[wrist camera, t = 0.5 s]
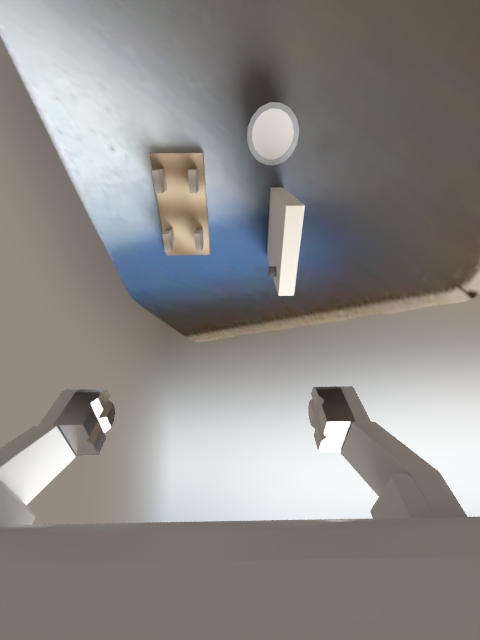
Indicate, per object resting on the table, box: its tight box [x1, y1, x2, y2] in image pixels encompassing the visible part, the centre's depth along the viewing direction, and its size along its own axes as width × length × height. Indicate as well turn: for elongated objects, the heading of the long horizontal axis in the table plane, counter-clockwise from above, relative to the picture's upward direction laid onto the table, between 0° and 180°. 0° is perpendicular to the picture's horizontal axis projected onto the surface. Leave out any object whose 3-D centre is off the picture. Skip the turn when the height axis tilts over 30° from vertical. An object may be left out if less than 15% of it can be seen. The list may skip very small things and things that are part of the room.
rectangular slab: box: [267, 187, 305, 296], centre depth 41 cm, size 12×3×16 cm, turn 0°
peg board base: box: [150, 153, 210, 255], centre depth 43 cm, size 16×8×6 cm, turn 0°
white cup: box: [247, 102, 299, 165], centre depth 37 cm, size 7×7×7 cm
